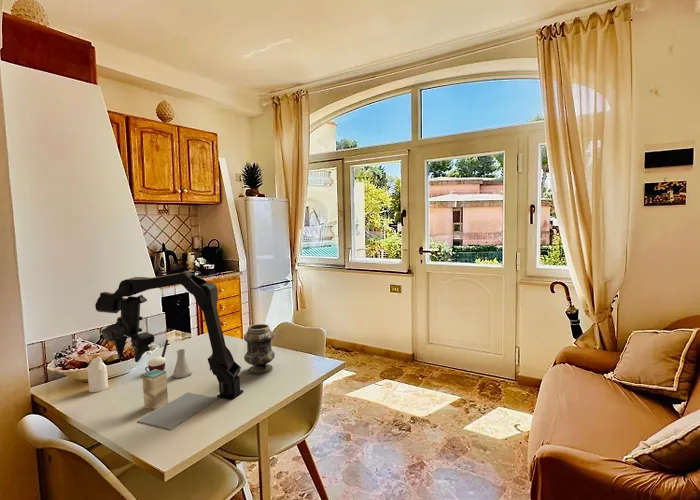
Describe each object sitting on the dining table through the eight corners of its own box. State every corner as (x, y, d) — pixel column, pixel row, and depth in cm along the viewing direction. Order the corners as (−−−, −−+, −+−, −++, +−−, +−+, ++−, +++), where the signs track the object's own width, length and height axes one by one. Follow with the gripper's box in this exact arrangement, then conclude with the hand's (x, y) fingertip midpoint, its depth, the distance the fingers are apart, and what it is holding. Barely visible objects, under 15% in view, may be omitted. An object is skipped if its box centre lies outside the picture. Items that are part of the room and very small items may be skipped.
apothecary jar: (279, 364, 158) (277, 322, 157) (270, 376, 146) (268, 330, 145) (251, 363, 159) (249, 322, 158) (240, 375, 147) (237, 330, 146)
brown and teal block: (168, 402, 127) (166, 371, 126) (155, 409, 122) (153, 377, 121) (157, 400, 129) (155, 369, 128) (144, 407, 124) (142, 375, 123)
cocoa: (146, 377, 149) (142, 348, 147) (145, 371, 154) (142, 343, 152) (172, 371, 153) (169, 343, 151) (171, 365, 159) (168, 338, 157)
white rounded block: (83, 361, 134) (89, 355, 139) (86, 393, 135) (92, 387, 140) (103, 358, 136) (107, 353, 141) (105, 390, 137) (110, 384, 142)
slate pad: (218, 399, 128) (217, 398, 128) (170, 430, 110) (170, 429, 110) (187, 393, 133) (187, 392, 133) (137, 421, 115) (137, 421, 115)
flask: (185, 379, 146) (183, 353, 145) (168, 378, 147) (166, 353, 146) (196, 371, 153) (194, 347, 152) (180, 370, 154) (178, 346, 153)
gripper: (89, 313, 126) (87, 358, 127) (124, 325, 117) (122, 373, 119) (122, 307, 136) (120, 349, 137) (156, 318, 127) (154, 362, 129)
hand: (128, 358), depth 130 cm, fingers open, 9 cm apart
